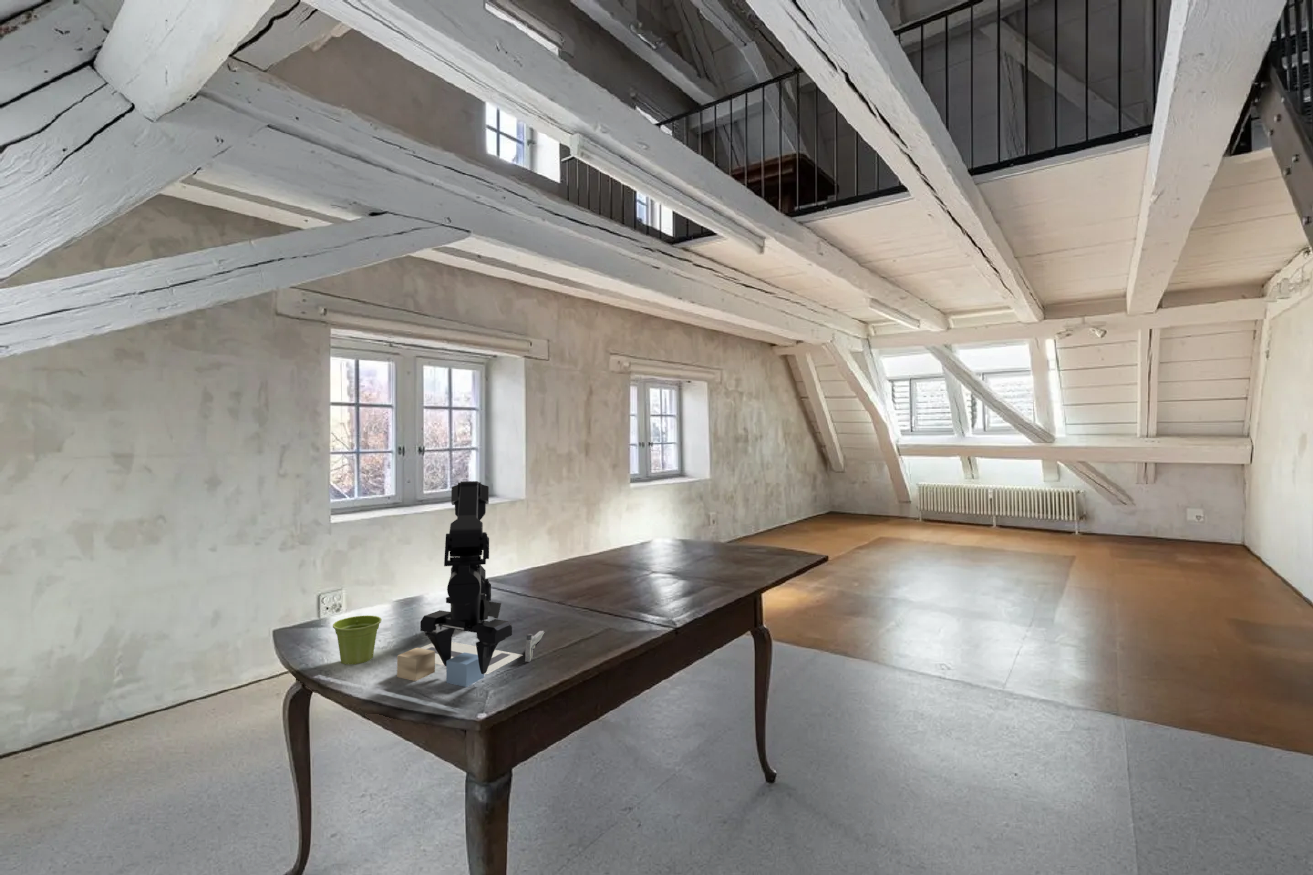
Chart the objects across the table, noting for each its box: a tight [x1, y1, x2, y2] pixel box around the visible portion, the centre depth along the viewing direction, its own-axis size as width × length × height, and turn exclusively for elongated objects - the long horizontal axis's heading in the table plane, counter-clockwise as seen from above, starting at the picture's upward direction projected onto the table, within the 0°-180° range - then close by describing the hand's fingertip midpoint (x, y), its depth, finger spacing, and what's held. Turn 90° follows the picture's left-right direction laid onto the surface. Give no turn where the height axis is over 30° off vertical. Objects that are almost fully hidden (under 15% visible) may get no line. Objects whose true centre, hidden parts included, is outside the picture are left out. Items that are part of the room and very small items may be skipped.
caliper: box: [524, 630, 545, 663], centre depth 137 cm, size 20×1×6 cm, turn 2°
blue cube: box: [445, 652, 485, 688], centre depth 117 cm, size 5×5×5 cm
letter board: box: [420, 641, 523, 675], centre depth 130 cm, size 12×24×1 cm, turn 66°
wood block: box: [396, 647, 436, 682], centre depth 120 cm, size 5×5×5 cm
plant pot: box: [332, 614, 382, 665], centre depth 128 cm, size 9×9×9 cm
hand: (465, 669), depth 117 cm, fingers open, 9 cm apart
